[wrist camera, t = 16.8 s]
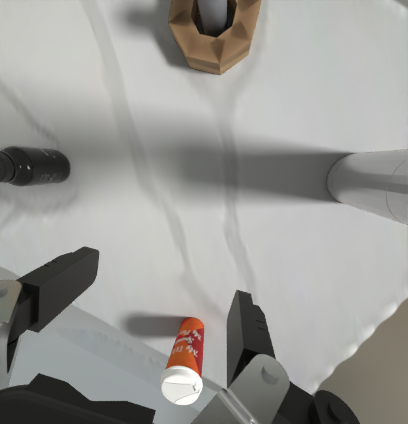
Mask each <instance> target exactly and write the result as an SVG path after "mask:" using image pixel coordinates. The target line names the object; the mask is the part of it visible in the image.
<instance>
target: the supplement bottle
mask: <svg viewBox="0 0 408 424" xmlns="http://www.w3.org/2000/svg"><path fill="white" fill-rule="evenodd" d="M69 173H70V164H69V162H68V160H67V158H66V157H65V156H64V155H63V154H62V153H61V152H59V151H56V150H51V149H40V148H28V147H17V146H10V147H6V148H4V149H3V150H1V151H0V182H9V183H10V184H13V185H15V186H32V185H42V184H51V183H59V182H63V181H64V180H66V179H67V178H68V176H69Z"/></svg>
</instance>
